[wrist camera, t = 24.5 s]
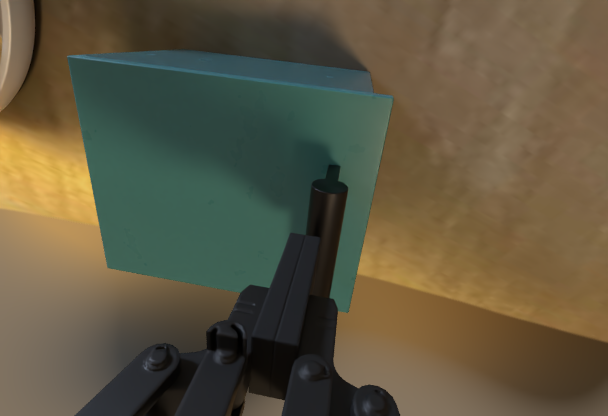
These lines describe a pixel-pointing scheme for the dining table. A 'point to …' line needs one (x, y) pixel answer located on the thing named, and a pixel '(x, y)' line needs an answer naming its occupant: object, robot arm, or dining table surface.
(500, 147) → the dining table surface
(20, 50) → the bowl
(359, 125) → the chest lid
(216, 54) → the box
